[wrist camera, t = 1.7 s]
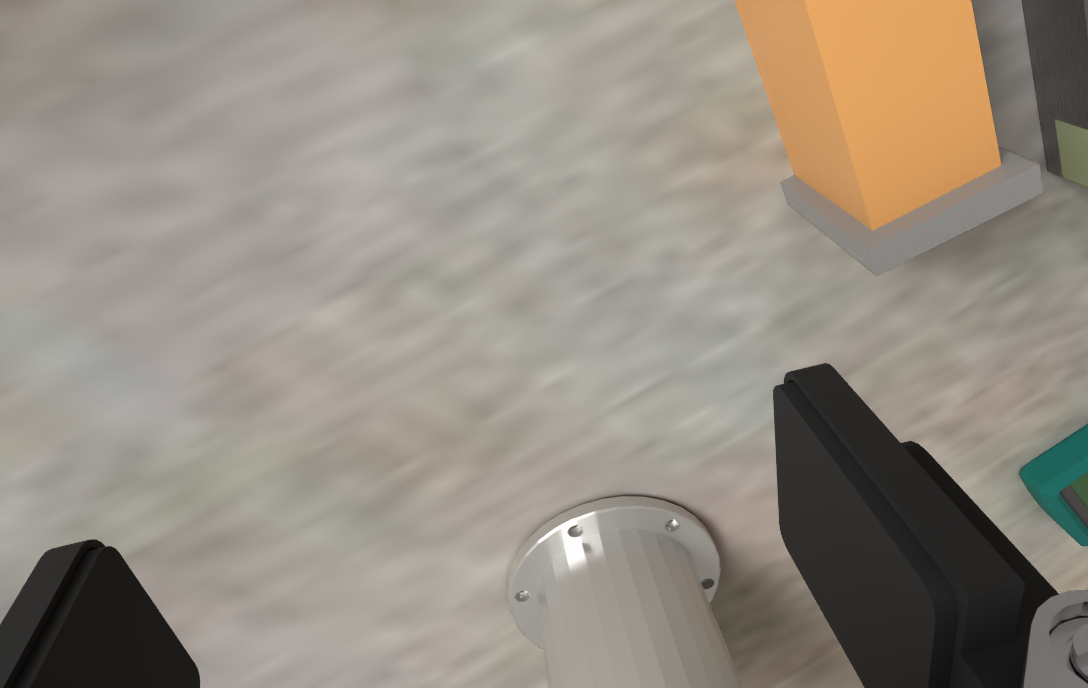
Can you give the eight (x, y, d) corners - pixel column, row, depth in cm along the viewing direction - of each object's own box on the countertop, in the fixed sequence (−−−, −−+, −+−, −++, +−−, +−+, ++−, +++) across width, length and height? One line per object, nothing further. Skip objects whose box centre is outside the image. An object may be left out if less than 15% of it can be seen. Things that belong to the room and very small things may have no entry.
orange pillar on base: (919, 136, 34) (1043, 192, 27) (787, 204, 35) (876, 276, 28) (841, -188, 27) (979, -222, 21) (681, -94, 28) (763, -97, 21)
